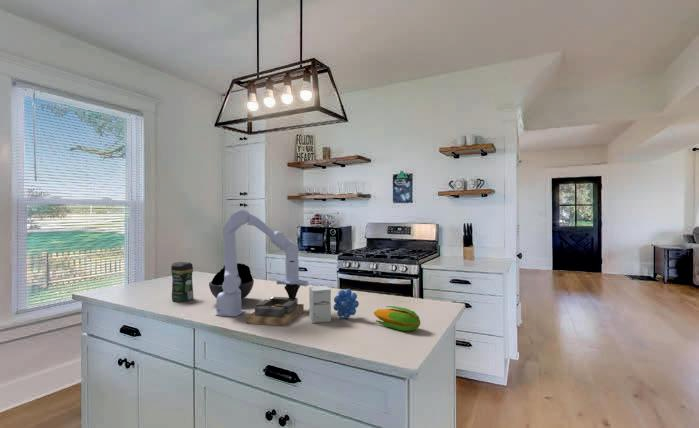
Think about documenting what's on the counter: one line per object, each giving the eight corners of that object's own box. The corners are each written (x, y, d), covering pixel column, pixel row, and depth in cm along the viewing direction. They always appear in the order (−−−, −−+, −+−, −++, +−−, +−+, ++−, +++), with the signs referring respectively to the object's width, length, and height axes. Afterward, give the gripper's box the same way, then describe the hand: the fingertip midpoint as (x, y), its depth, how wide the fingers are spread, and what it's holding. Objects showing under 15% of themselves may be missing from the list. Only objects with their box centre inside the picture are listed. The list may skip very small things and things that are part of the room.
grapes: (364, 317, 136) (363, 287, 136) (355, 322, 131) (355, 291, 131) (339, 313, 143) (339, 284, 142) (330, 318, 137) (330, 288, 137)
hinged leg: (268, 305, 147) (268, 298, 147) (271, 303, 150) (271, 296, 150) (294, 307, 144) (294, 299, 144) (297, 305, 147) (297, 297, 147)
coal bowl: (242, 309, 151) (241, 266, 151) (200, 307, 154) (199, 265, 154) (260, 297, 171) (260, 259, 171) (223, 296, 174) (222, 259, 174)
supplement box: (312, 323, 130) (311, 290, 130) (309, 317, 138) (308, 286, 137) (331, 321, 132) (331, 289, 132) (327, 316, 140) (327, 285, 139)
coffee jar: (168, 300, 167) (167, 262, 167) (182, 296, 174) (181, 260, 174) (183, 302, 163) (182, 263, 163) (196, 298, 170) (195, 261, 170)
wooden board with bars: (246, 323, 132) (245, 308, 132) (269, 308, 152) (269, 295, 152) (284, 325, 129) (284, 311, 129) (303, 310, 148) (303, 297, 148)
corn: (413, 313, 116) (367, 303, 130) (413, 336, 116) (366, 323, 129) (424, 309, 122) (379, 300, 135) (424, 331, 122) (378, 320, 135)
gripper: (272, 271, 148) (273, 302, 148) (302, 272, 143) (303, 305, 143) (281, 268, 154) (281, 298, 155) (310, 269, 150) (310, 301, 150)
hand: (292, 301), depth 149 cm, fingers closed
